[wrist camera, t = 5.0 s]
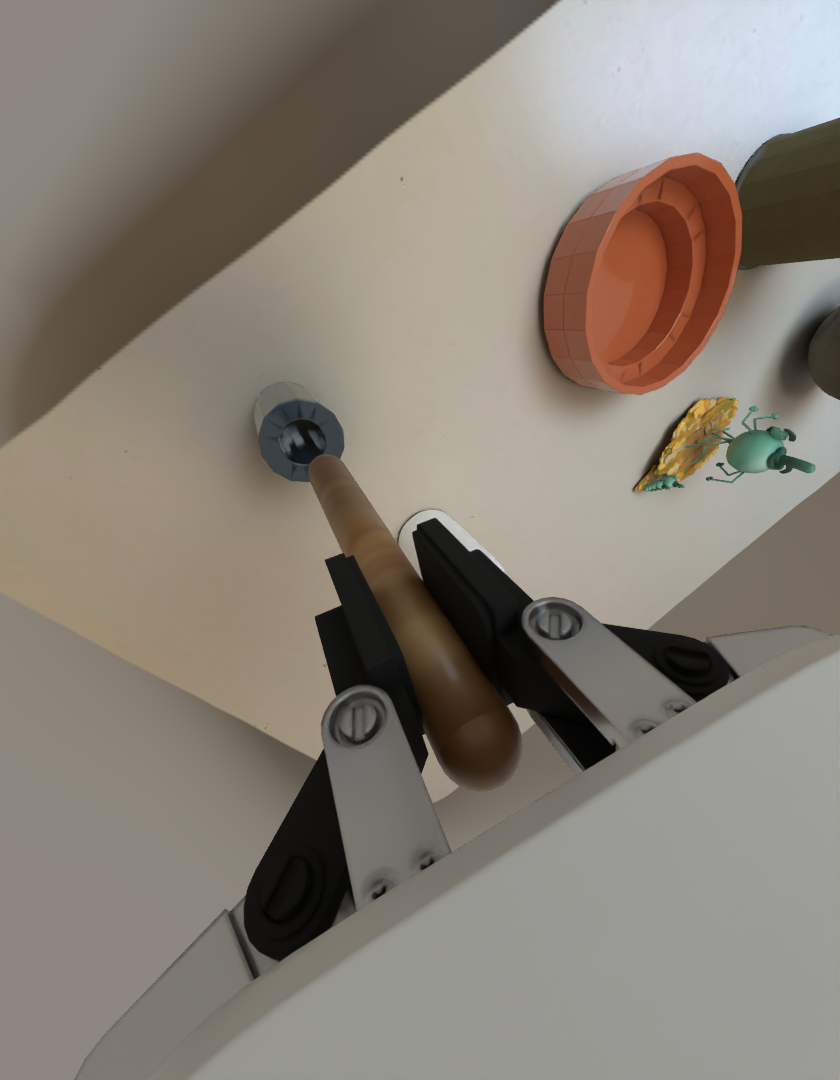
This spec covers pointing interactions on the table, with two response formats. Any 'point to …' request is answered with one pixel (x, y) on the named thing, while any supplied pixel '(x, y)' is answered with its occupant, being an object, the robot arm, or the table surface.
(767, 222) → the canister
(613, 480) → the table surface
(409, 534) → the can
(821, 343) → the cantaloupe
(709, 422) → the insect on leaf figurine
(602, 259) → the bowl
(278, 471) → the utensil pot
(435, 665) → the stick
